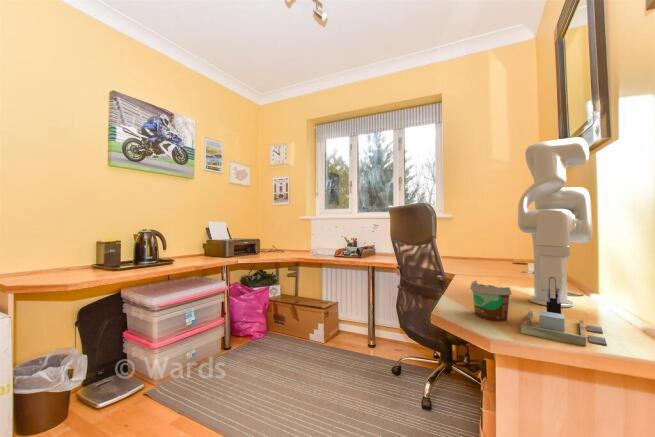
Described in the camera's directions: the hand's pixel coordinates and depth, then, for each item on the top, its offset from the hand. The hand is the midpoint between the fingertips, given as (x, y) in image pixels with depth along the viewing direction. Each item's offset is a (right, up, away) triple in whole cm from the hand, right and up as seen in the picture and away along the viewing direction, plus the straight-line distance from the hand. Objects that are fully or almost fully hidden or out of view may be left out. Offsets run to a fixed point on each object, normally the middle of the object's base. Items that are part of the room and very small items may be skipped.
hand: (554, 316), depth 83 cm
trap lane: (-2, -2, -5) cm, 6 cm away
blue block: (-6, -2, -8) cm, 10 cm away
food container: (-16, -3, +6) cm, 18 cm away
